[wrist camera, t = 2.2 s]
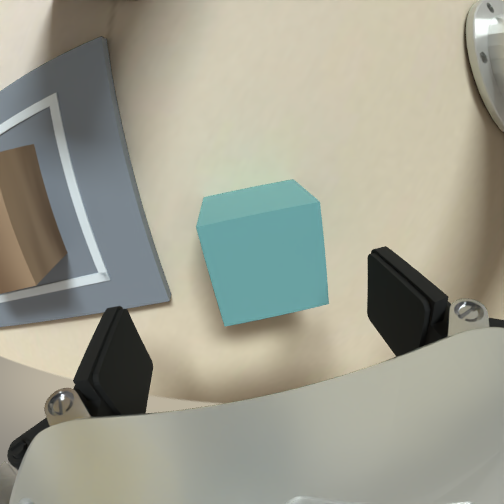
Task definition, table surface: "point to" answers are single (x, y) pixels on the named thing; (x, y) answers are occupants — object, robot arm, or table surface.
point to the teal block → (264, 251)
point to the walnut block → (25, 222)
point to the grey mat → (81, 190)
